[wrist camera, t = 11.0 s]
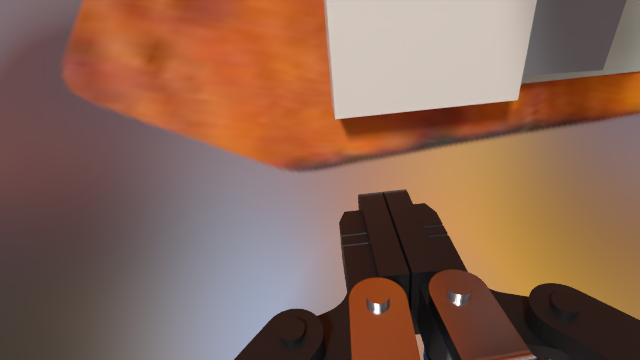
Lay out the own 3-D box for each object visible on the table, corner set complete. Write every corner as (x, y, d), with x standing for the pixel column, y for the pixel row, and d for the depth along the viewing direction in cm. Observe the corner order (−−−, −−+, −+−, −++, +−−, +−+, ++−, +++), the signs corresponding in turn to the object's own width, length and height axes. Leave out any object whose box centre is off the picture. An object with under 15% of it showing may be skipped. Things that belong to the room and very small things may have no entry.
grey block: (619, -34, 31) (637, -33, 29) (588, 64, 35) (602, 70, 33) (523, -28, 31) (536, -27, 29) (503, 70, 35) (513, 76, 33)
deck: (520, -62, 30) (549, -64, 26) (497, 85, 36) (517, 99, 33) (320, -40, 30) (323, -39, 27) (331, 103, 36) (335, 119, 33)
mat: (723, -85, 30) (727, -86, 29) (664, 67, 36) (667, 68, 36) (521, -63, 30) (523, -63, 30) (497, 85, 36) (499, 86, 36)
